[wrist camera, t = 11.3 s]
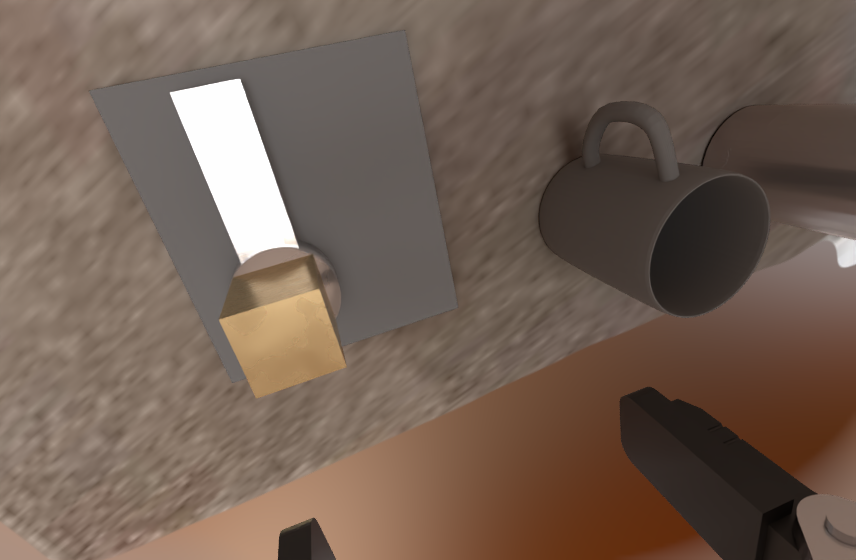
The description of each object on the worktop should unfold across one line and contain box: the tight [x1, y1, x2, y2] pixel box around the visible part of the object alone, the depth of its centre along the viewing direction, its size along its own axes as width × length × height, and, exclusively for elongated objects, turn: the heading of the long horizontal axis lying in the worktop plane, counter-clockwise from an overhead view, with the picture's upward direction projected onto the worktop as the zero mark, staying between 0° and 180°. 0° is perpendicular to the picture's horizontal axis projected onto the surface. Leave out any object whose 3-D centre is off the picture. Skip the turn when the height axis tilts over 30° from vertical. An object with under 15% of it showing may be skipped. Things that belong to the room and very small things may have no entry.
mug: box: [539, 101, 770, 318], centre depth 29 cm, size 14×9×12 cm
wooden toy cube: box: [219, 254, 347, 398], centre depth 25 cm, size 5×5×6 cm
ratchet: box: [170, 79, 341, 319], centre depth 25 cm, size 7×16×6 cm, turn 12°
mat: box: [89, 30, 458, 383], centre depth 29 cm, size 18×20×1 cm
